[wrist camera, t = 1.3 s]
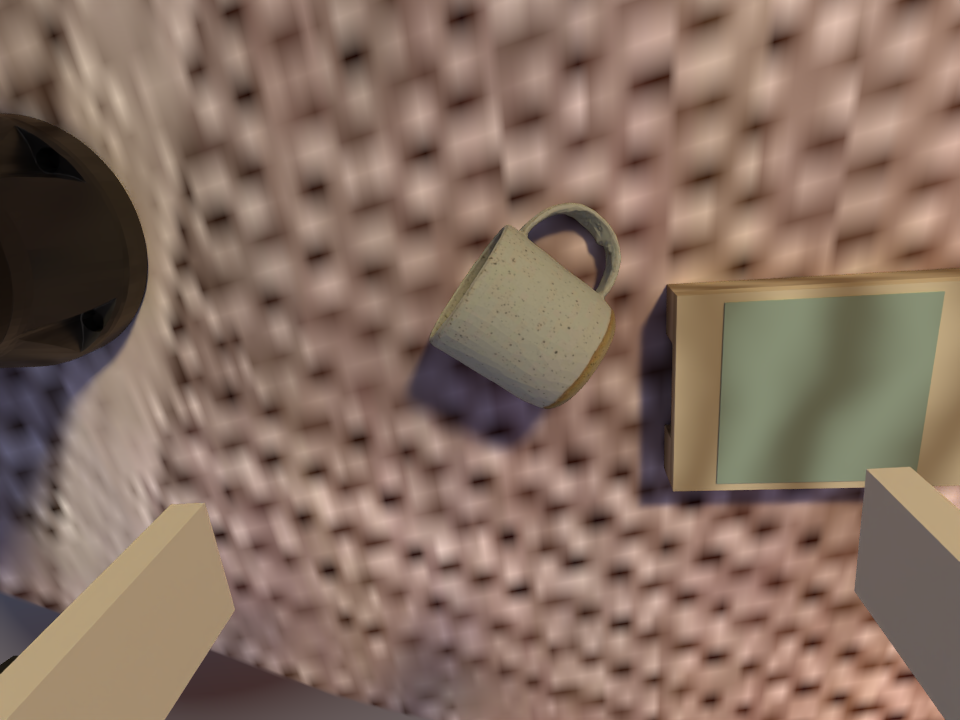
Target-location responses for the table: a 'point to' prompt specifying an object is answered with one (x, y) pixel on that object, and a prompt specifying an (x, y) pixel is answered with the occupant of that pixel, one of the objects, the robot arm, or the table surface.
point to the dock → (814, 380)
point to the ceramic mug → (532, 314)
